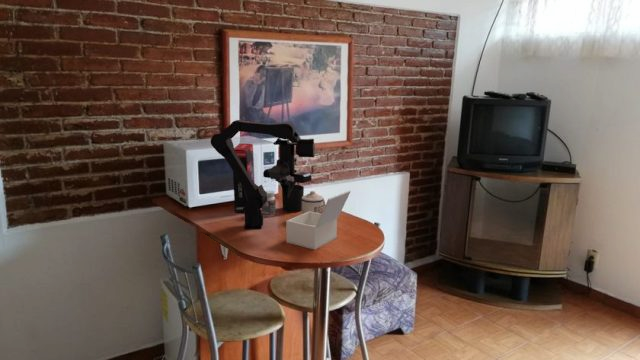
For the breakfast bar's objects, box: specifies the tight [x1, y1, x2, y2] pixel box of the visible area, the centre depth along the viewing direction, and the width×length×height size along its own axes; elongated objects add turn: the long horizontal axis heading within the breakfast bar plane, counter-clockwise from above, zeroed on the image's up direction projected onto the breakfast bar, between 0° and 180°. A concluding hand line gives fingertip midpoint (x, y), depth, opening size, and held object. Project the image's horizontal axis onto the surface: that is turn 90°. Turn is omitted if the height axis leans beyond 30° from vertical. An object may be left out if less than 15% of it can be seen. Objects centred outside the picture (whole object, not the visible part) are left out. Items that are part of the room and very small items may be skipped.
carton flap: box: [316, 189, 351, 228], centre depth 163 cm, size 12×14×1 cm
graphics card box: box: [232, 143, 256, 214], centre depth 207 cm, size 17×7×27 cm, turn 179°
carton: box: [285, 211, 338, 251], centre depth 169 cm, size 12×14×8 cm
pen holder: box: [281, 184, 305, 213], centre depth 207 cm, size 9×9×10 cm
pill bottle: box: [261, 190, 277, 218], centre depth 198 cm, size 6×6×10 cm
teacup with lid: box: [301, 190, 326, 214], centre depth 194 cm, size 12×9×12 cm
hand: (287, 197), depth 181 cm, fingers closed
